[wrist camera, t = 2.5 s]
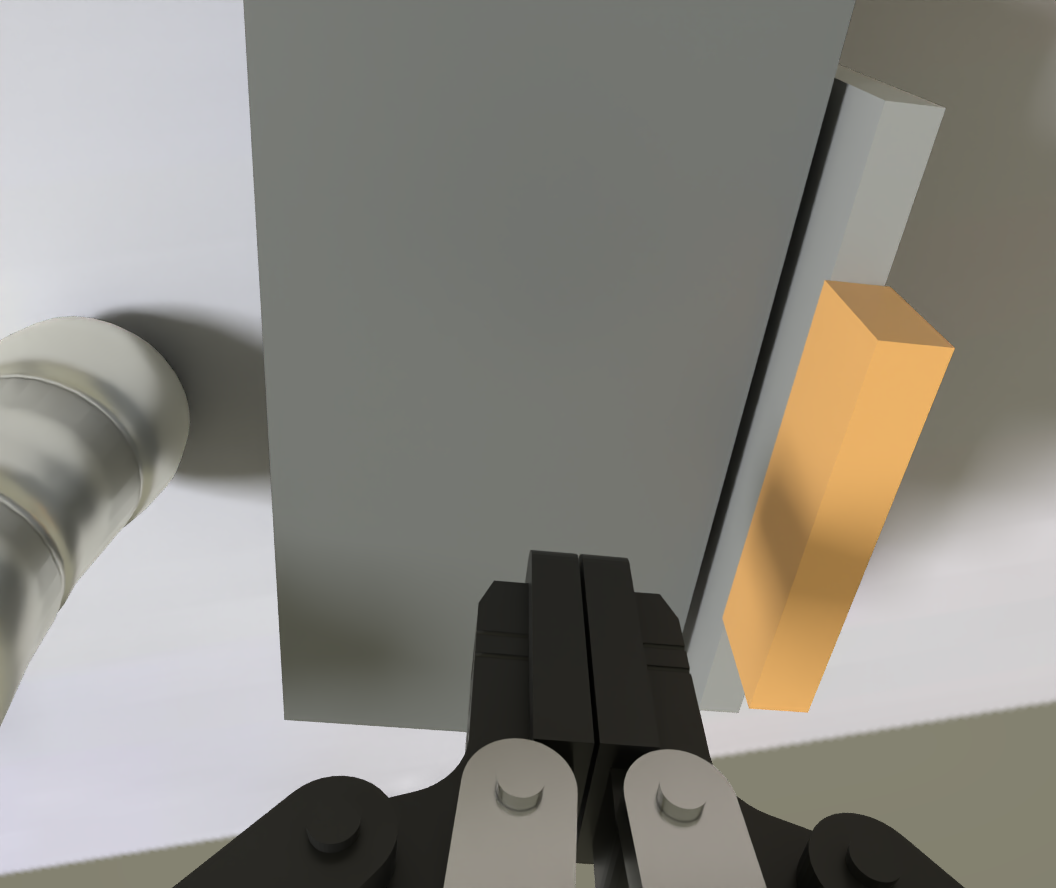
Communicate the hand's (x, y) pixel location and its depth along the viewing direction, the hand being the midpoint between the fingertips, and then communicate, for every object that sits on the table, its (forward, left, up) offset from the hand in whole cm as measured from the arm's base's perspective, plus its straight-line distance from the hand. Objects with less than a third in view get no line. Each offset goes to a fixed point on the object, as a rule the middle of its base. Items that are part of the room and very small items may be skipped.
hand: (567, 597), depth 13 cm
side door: (0, +5, -15) cm, 16 cm away
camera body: (-1, -1, -16) cm, 16 cm away
